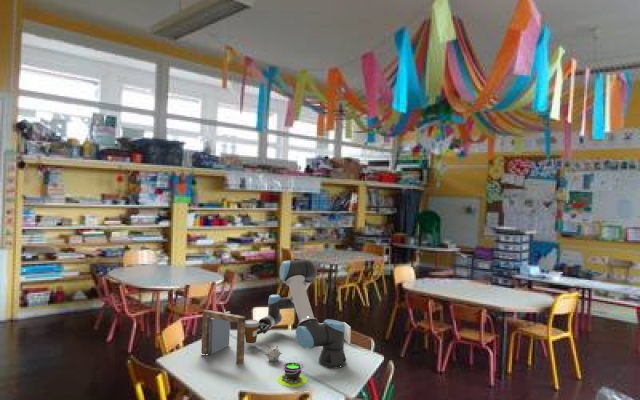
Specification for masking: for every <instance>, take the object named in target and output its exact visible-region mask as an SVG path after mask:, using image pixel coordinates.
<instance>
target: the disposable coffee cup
mask: <svg viewBox="0 0 640 400" xmlns="http://www.w3.org/2000/svg"><path fill="white" fill-rule="evenodd" d="M258 326H259V320H257V319H247V320H246V319H245V343H246V344H255V343H257V337H258V335H256V336H254V337H253V332H254V331H256V330H258Z"/></svg>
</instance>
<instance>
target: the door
mask: <svg viewBox="0 0 640 400" xmlns="http://www.w3.org/2000/svg"><path fill="white" fill-rule="evenodd" d="M224 313H228V314H231V311H226V312H224ZM230 329H231V321H225V320H220V319H215V318H210V319H209V344H208V355H207V356H212V355H213V354H215V353H216V352H219V351H220V350H222V349H225V348H226V347H228V346H230V332H231V331H230Z"/></svg>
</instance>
